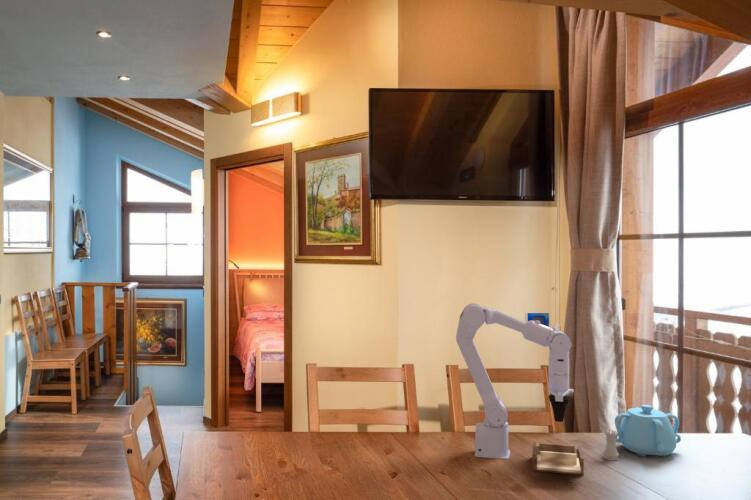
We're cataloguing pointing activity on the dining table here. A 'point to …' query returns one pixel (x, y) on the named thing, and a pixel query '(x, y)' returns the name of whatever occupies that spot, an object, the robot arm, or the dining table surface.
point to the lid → (558, 461)
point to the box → (557, 448)
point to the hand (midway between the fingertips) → (558, 421)
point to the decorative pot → (647, 431)
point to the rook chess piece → (611, 446)
